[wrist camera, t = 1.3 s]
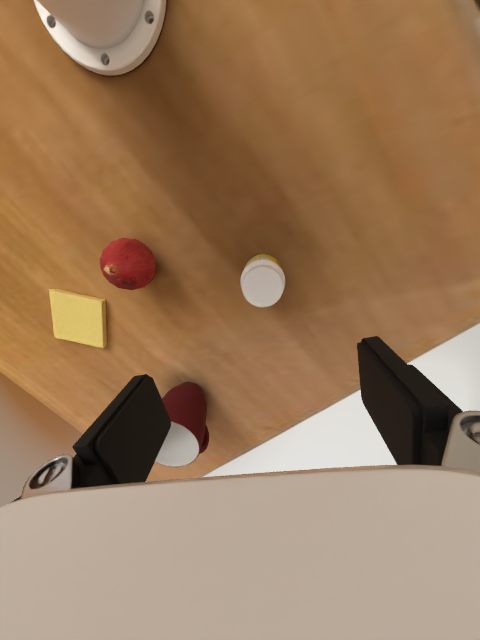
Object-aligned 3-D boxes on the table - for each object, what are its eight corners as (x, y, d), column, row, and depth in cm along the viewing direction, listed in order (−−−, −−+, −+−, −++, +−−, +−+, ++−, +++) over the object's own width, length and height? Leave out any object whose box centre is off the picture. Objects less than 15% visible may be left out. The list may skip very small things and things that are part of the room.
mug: (234, 408, 39) (225, 464, 30) (198, 427, 41) (180, 486, 32) (192, 362, 36) (168, 409, 27) (156, 386, 39) (123, 436, 30)
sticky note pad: (59, 334, 37) (54, 337, 36) (54, 288, 34) (48, 289, 33) (107, 345, 37) (103, 348, 36) (106, 299, 34) (101, 301, 33)
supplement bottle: (283, 287, 31) (289, 308, 23) (247, 292, 32) (242, 314, 24) (279, 249, 29) (285, 259, 21) (241, 256, 30) (233, 267, 22)
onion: (172, 276, 32) (144, 291, 24) (134, 286, 33) (96, 304, 25) (155, 231, 30) (119, 233, 22) (115, 244, 31) (68, 250, 23)
